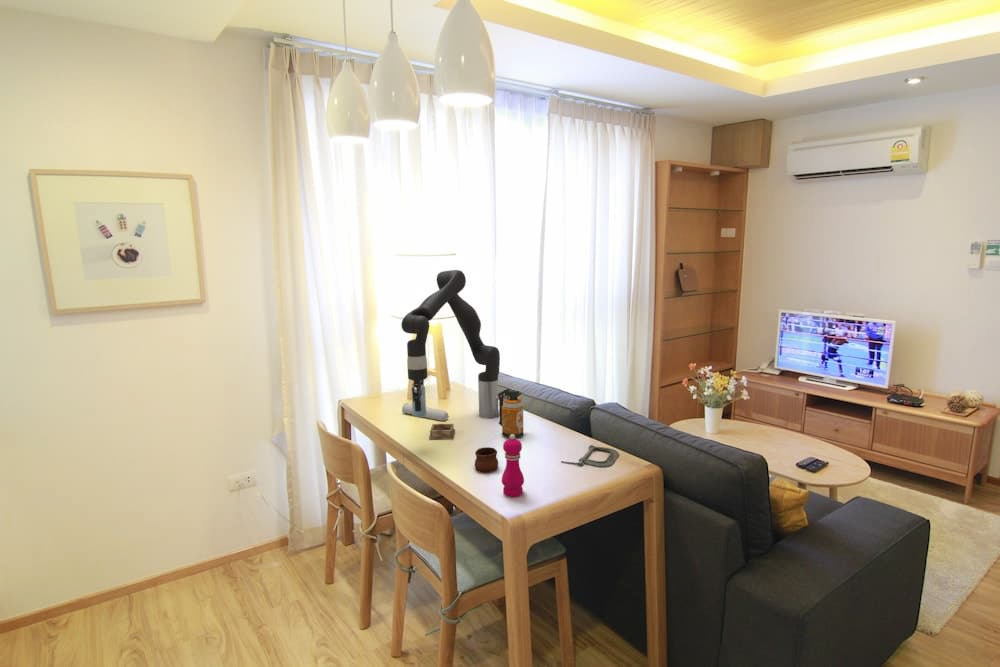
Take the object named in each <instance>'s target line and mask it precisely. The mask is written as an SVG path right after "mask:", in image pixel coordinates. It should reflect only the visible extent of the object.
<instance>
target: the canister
mask: <svg viewBox="0 0 1000 667" xmlns="http://www.w3.org/2000/svg"><path fill="white" fill-rule="evenodd" d="M521 395H522V392H520V390H513V389H509V388H506V389H504V390H503V391H501V392H498V410H499V421H498V424H499V425H500V427H501V435H502V436H503V437H504V438H507V439H509V438H510V435H511V434H514V435H515V438H516V439H518V438H521V437H523V436H524V406H523V401H522V398H520V396H521Z"/></svg>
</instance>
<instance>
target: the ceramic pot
mask: <svg viewBox="0 0 1000 667" xmlns="http://www.w3.org/2000/svg"><path fill="white" fill-rule="evenodd" d="M474 454H475V457H476V458H475V460H474V467H475V472H478V473H483V474H487V473H493V472H495V471H496V470H498V466H499V460H498V457H497V455H498V450H497V449H495V448H494V447H488V446H487V447H486V446H485V447H481V448H478V449H477V450H476V451H475V453H474Z"/></svg>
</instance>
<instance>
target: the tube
mask: <svg viewBox="0 0 1000 667" xmlns="http://www.w3.org/2000/svg"><path fill="white" fill-rule="evenodd" d="M401 410H402V411H401V412H402V413H403V414H404V413H407V414H406V415H410V414H412V415H411V416H413V409H412V403H408V402H406V403H404V404H403V405H402V407H401ZM449 417H450V416H449V413H448V412H447V411H446V410H443V409H437V408H433V407H427V406H426V415H425V416H422V417H421V418H425V419H431V420H436V421H440V422H445V421H447V420H448V418H449Z"/></svg>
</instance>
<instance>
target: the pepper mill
mask: <svg viewBox="0 0 1000 667" xmlns="http://www.w3.org/2000/svg"><path fill="white" fill-rule="evenodd" d="M502 445H503V446H502V449H503V451H504V452H505V453H504V459H506V463H505V464H506V465H505V468H504V470H503V472H502V476H501V484H502V485H503V492H502V493H503V495H504V496H506V497H507V498H508V497H509V498H517V497H520V496H522V495H523V493H524V491H523V489H524V488H523V485H524V484H525V478H524V477H525V476H524V475H523V471H522V470H521V467H520V458H521V451H522V450H523V446H522V442H521V441H520V440H519V439H518V438H515V435H514V434H511V435H510V438H507V439H505V441H504V442H503V444H502Z"/></svg>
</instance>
